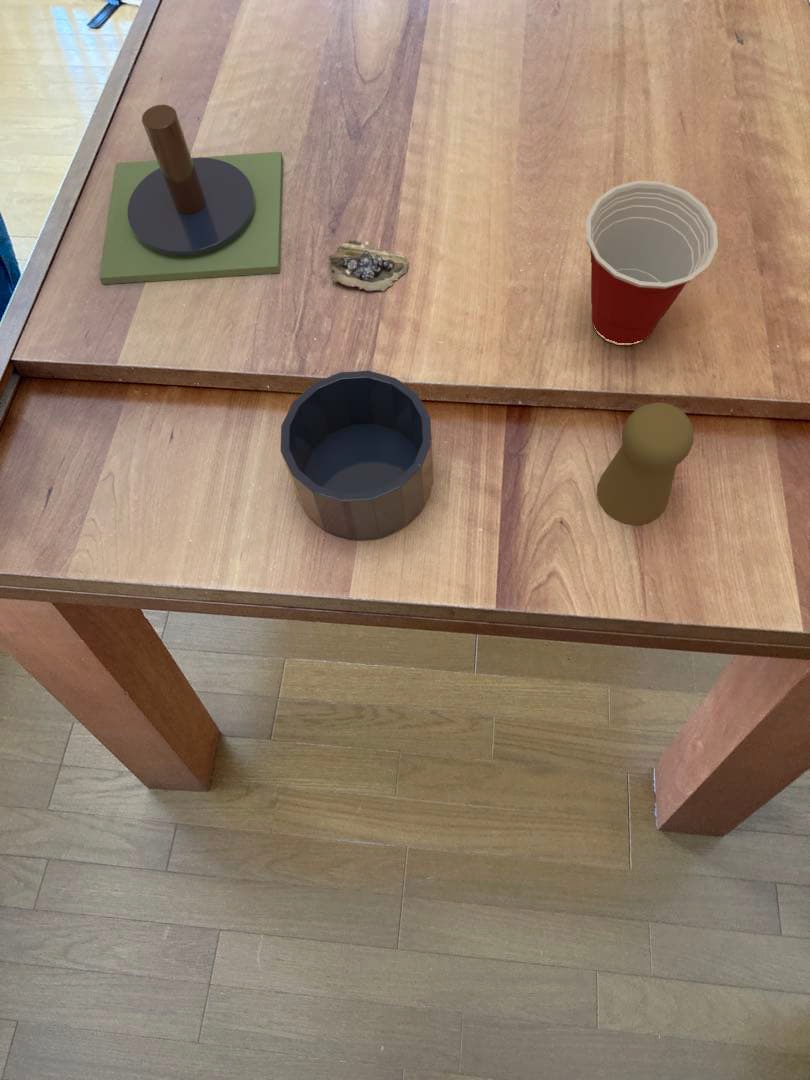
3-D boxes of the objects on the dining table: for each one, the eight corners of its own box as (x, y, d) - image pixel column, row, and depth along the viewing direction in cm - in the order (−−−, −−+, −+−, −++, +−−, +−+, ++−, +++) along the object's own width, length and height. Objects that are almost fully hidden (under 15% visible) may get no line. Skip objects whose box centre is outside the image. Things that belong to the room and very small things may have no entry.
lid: (164, 280, 81) (123, 189, 71) (111, 200, 86) (66, 105, 76) (278, 223, 84) (254, 128, 73) (220, 149, 88) (191, 50, 78)
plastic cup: (609, 389, 75) (637, 300, 64) (544, 308, 79) (559, 212, 68) (706, 339, 76) (749, 244, 65) (637, 263, 80) (667, 161, 70)
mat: (102, 284, 83) (98, 277, 82) (118, 170, 89) (115, 162, 88) (279, 273, 82) (277, 266, 81) (283, 159, 89) (281, 151, 88)
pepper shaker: (649, 454, 72) (682, 380, 62) (680, 512, 69) (719, 445, 59) (585, 474, 71) (608, 403, 61) (614, 534, 69) (642, 469, 59)
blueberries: (326, 246, 83) (324, 232, 82) (404, 237, 83) (403, 222, 82) (332, 298, 80) (329, 285, 79) (413, 288, 80) (412, 274, 79)
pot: (295, 544, 70) (279, 504, 63) (297, 424, 75) (282, 375, 68) (436, 536, 69) (435, 495, 62) (428, 416, 74) (426, 366, 67)
